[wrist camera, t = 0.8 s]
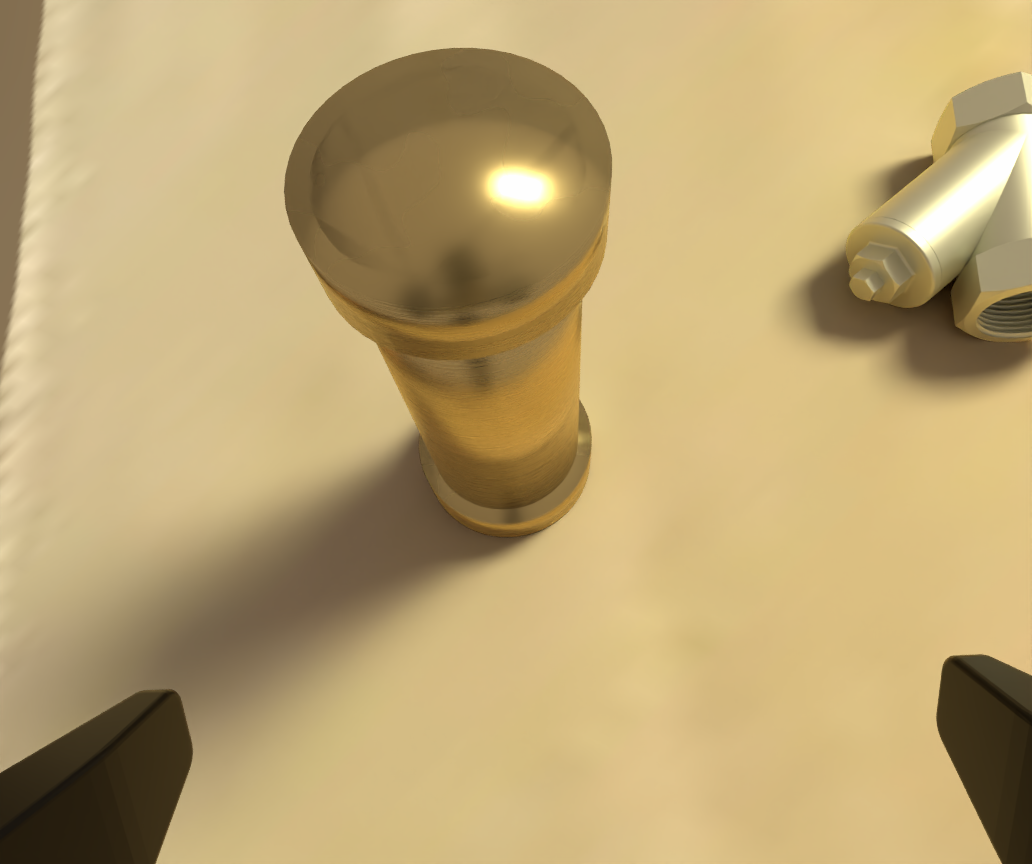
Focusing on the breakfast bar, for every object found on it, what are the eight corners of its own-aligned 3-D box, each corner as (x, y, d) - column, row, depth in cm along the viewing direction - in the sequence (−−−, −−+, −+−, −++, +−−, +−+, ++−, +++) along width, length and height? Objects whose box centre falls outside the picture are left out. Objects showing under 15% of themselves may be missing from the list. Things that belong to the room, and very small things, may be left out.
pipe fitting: (836, 342, 25) (1056, 347, 24) (870, 276, 22) (1130, 277, 20) (825, 159, 28) (1020, 155, 27) (853, 74, 25) (1079, 65, 23)
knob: (554, 562, 22) (537, 353, 10) (401, 502, 23) (223, 248, 11) (612, 415, 24) (656, 89, 12) (467, 365, 25) (375, 20, 13)
